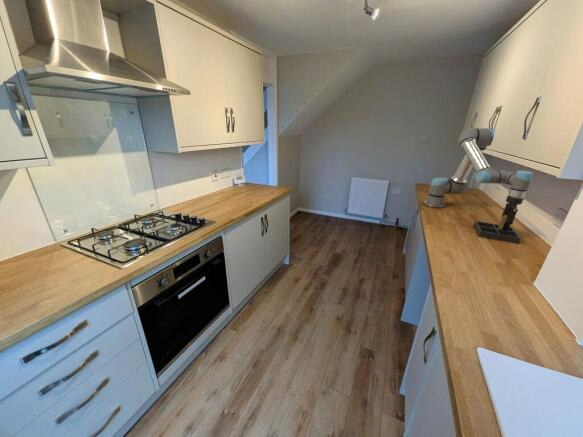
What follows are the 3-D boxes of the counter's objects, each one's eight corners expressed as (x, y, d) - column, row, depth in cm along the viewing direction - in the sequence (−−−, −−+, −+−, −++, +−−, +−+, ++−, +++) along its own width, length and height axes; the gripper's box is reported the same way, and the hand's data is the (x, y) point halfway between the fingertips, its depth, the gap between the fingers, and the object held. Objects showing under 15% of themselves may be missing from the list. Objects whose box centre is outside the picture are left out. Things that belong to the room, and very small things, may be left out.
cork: (510, 233, 150) (516, 217, 146) (499, 232, 151) (505, 216, 147) (504, 230, 155) (510, 214, 151) (494, 229, 156) (499, 213, 152)
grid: (473, 225, 164) (475, 220, 162) (509, 231, 155) (511, 226, 154) (478, 236, 148) (480, 231, 146) (518, 243, 140) (521, 238, 138)
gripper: (503, 192, 154) (491, 224, 162) (512, 199, 138) (498, 235, 147) (518, 194, 151) (505, 227, 159) (529, 201, 135) (514, 238, 144)
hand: (502, 231), depth 153 cm, fingers closed on cork, 6 cm apart
